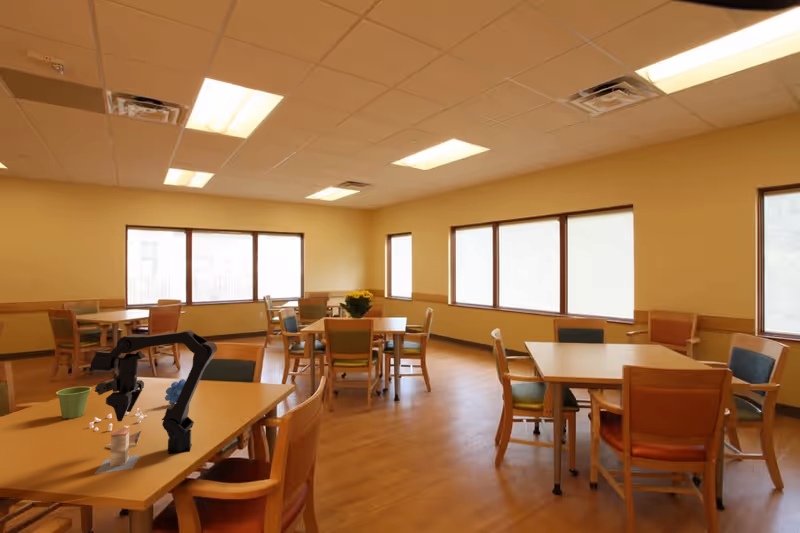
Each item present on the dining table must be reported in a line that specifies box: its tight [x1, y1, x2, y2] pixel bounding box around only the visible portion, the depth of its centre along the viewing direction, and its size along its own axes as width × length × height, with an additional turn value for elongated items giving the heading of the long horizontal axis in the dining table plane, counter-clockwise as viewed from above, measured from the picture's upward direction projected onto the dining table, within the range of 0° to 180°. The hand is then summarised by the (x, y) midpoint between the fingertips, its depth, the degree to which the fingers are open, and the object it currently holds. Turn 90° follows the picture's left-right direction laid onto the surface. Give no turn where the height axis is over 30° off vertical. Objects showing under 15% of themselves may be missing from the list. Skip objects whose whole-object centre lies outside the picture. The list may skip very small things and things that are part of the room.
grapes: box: [164, 378, 186, 406], centre depth 183 cm, size 12×7×12 cm, turn 115°
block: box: [109, 428, 130, 466], centre depth 125 cm, size 4×4×10 cm
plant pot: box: [55, 386, 93, 420], centre depth 166 cm, size 12×12×11 cm
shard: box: [105, 430, 142, 449], centre depth 141 cm, size 13×9×2 cm
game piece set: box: [88, 407, 148, 432], centre depth 160 cm, size 19×20×4 cm
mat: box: [94, 454, 141, 475], centre depth 124 cm, size 10×10×1 cm
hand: (124, 416), depth 132 cm, fingers open, 9 cm apart
